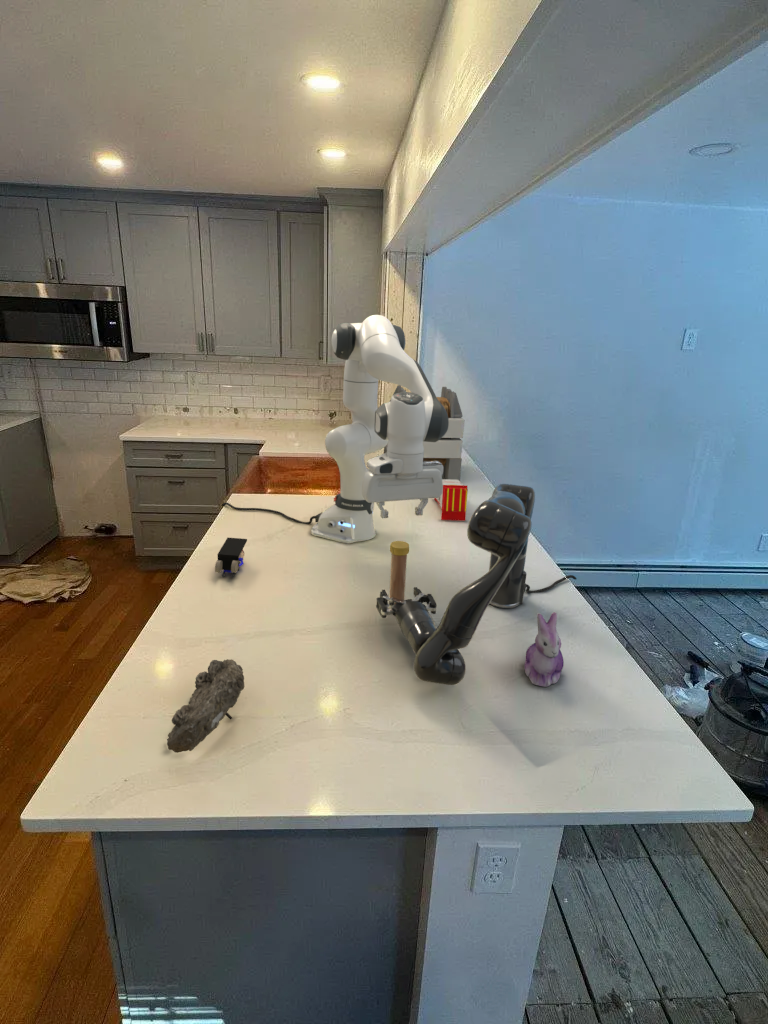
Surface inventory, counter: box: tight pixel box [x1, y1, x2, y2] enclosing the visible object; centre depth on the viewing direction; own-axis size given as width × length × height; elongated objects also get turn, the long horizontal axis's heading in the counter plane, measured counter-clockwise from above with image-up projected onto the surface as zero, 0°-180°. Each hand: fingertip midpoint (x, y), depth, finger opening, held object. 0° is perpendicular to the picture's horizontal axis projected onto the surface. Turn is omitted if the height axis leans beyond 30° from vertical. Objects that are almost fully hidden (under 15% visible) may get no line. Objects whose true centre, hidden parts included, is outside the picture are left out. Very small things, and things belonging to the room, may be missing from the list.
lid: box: [389, 540, 410, 556], centre depth 144 cm, size 5×5×2 cm
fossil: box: [166, 658, 245, 754], centre depth 106 cm, size 22×10×15 cm
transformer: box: [383, 384, 465, 482], centre depth 268 cm, size 34×33×41 cm
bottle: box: [388, 552, 408, 604], centre depth 147 cm, size 4×4×18 cm
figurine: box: [524, 611, 565, 688], centre depth 122 cm, size 9×10×15 cm
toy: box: [434, 478, 469, 522], centre depth 226 cm, size 12×13×30 cm
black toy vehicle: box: [214, 537, 248, 578], centre depth 166 cm, size 7×8×15 cm
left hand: (401, 516), depth 141 cm, fingers open, 8 cm apart
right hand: (398, 591), depth 146 cm, fingers open, 8 cm apart
